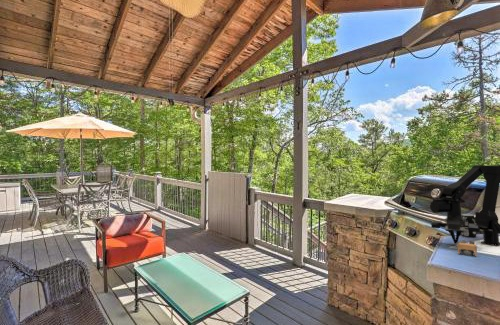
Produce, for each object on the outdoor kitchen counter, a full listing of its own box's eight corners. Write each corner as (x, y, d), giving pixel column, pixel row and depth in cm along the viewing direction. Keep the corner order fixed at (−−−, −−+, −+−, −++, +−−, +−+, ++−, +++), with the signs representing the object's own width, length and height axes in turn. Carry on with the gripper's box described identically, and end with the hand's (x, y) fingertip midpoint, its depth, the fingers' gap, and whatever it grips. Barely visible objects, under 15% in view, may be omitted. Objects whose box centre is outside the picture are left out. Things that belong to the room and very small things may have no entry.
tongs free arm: (466, 252, 120) (466, 248, 120) (461, 251, 121) (460, 247, 121) (465, 244, 132) (465, 240, 132) (460, 243, 133) (460, 240, 133)
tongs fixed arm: (473, 256, 115) (473, 251, 115) (461, 254, 118) (461, 249, 118) (474, 245, 130) (474, 241, 130) (463, 244, 133) (463, 239, 133)
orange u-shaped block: (476, 256, 114) (476, 246, 115) (458, 253, 119) (457, 244, 119) (476, 254, 117) (476, 244, 117) (458, 251, 121) (457, 242, 121)
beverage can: (475, 235, 147) (473, 213, 148) (477, 238, 142) (476, 215, 142) (460, 234, 151) (458, 213, 151) (461, 237, 145) (460, 215, 146)
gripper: (429, 212, 131) (430, 244, 130) (478, 216, 119) (481, 251, 118) (432, 209, 139) (433, 239, 139) (478, 212, 127) (480, 245, 127)
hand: (455, 243), depth 130 cm, fingers closed
